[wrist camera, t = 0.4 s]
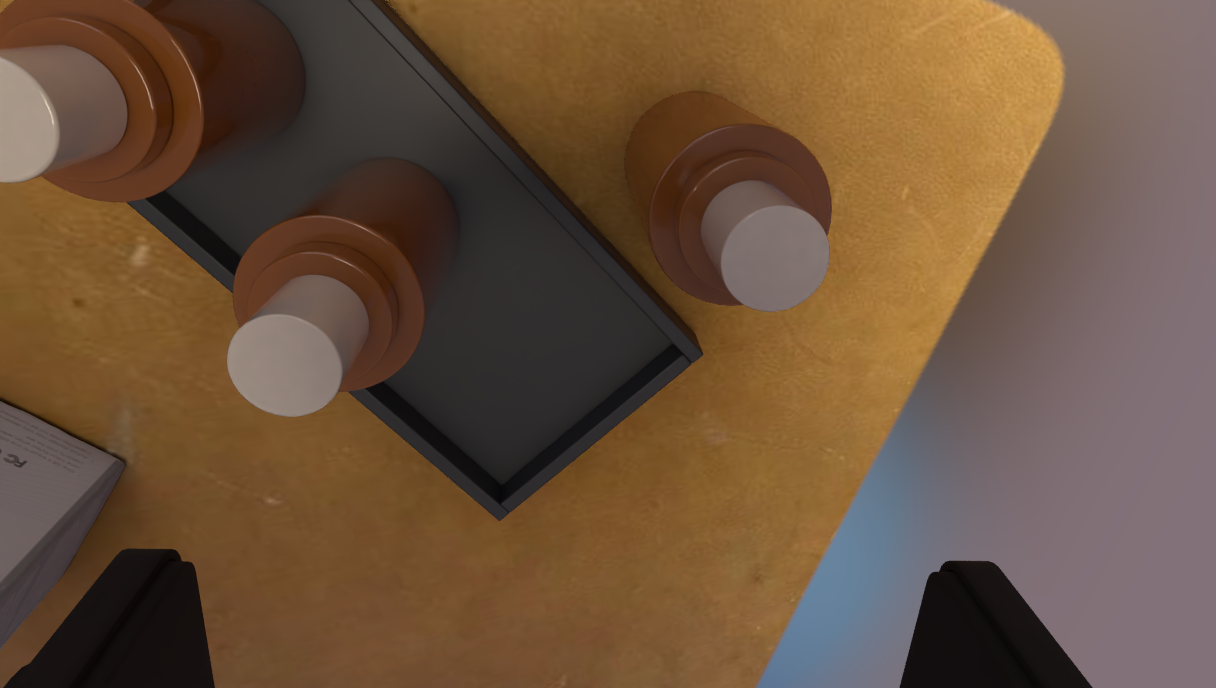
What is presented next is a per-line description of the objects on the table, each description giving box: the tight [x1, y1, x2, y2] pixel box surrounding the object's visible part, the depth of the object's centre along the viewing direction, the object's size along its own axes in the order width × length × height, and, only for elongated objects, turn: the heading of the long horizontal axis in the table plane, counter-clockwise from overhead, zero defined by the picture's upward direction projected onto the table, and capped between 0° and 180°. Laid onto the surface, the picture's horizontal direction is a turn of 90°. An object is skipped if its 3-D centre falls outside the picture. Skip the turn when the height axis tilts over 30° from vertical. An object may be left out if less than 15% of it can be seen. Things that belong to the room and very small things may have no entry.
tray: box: [127, 0, 703, 521], centre depth 30 cm, size 11×23×2 cm, turn 42°
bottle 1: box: [0, 0, 305, 202], centre depth 22 cm, size 5×5×13 cm
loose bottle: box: [624, 91, 832, 312], centre depth 25 cm, size 5×5×13 cm
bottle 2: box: [227, 157, 460, 417], centre depth 25 cm, size 5×5×13 cm
